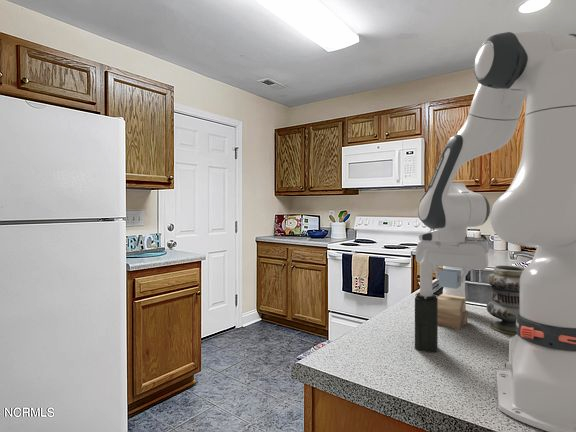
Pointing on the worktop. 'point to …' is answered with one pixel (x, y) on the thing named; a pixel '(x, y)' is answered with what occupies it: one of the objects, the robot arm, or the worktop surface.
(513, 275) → the apothecary jar
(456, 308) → the top block
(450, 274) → the blue cube
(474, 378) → the worktop surface
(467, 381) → the worktop surface
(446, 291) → the water bottle
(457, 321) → the bottom block
